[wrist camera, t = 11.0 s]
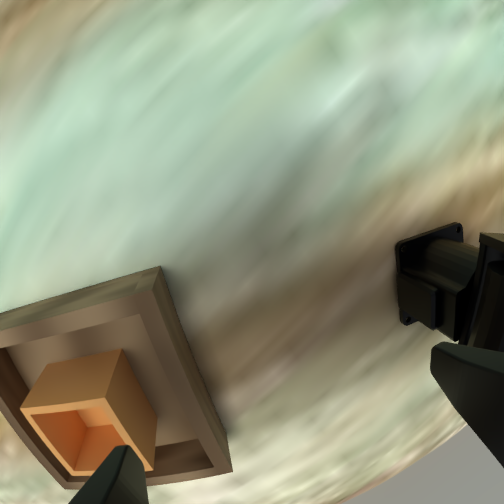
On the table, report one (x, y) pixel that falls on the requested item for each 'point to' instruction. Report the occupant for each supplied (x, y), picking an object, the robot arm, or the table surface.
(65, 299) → the walnut crate
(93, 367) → the small crate
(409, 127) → the table surface
